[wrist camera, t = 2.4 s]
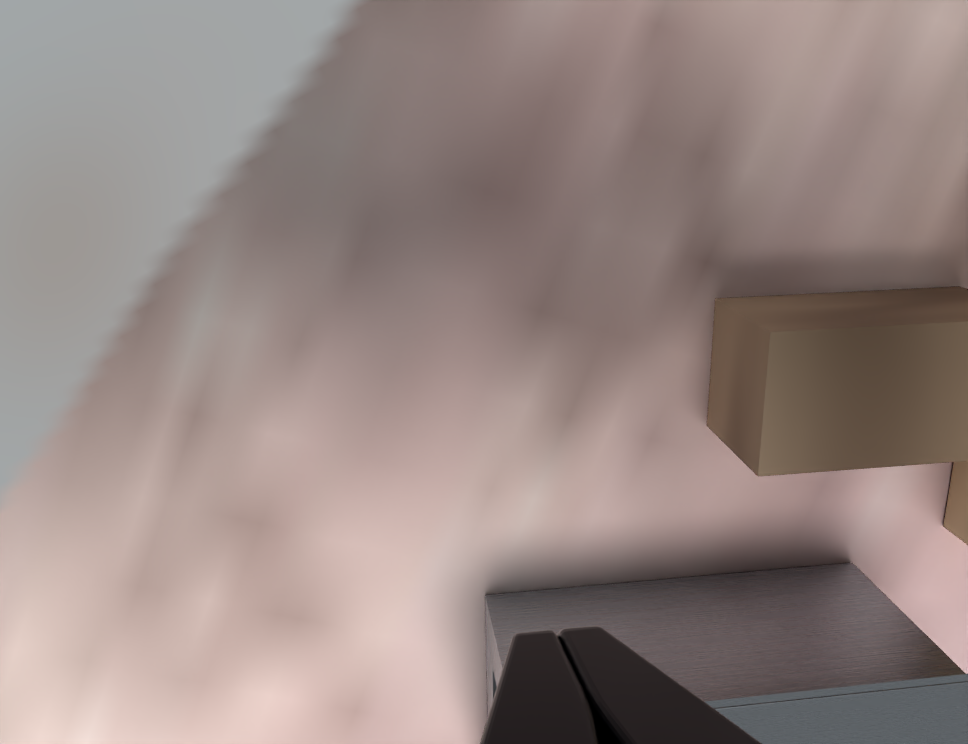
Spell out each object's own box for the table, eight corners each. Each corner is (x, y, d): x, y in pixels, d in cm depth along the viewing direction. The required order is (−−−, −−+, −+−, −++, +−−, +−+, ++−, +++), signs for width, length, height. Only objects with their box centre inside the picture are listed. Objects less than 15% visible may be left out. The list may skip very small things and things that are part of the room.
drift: (952, 284, 18) (1049, 317, 15) (935, 406, 18) (1022, 456, 16) (711, 296, 17) (770, 331, 14) (703, 422, 18) (757, 476, 15)
